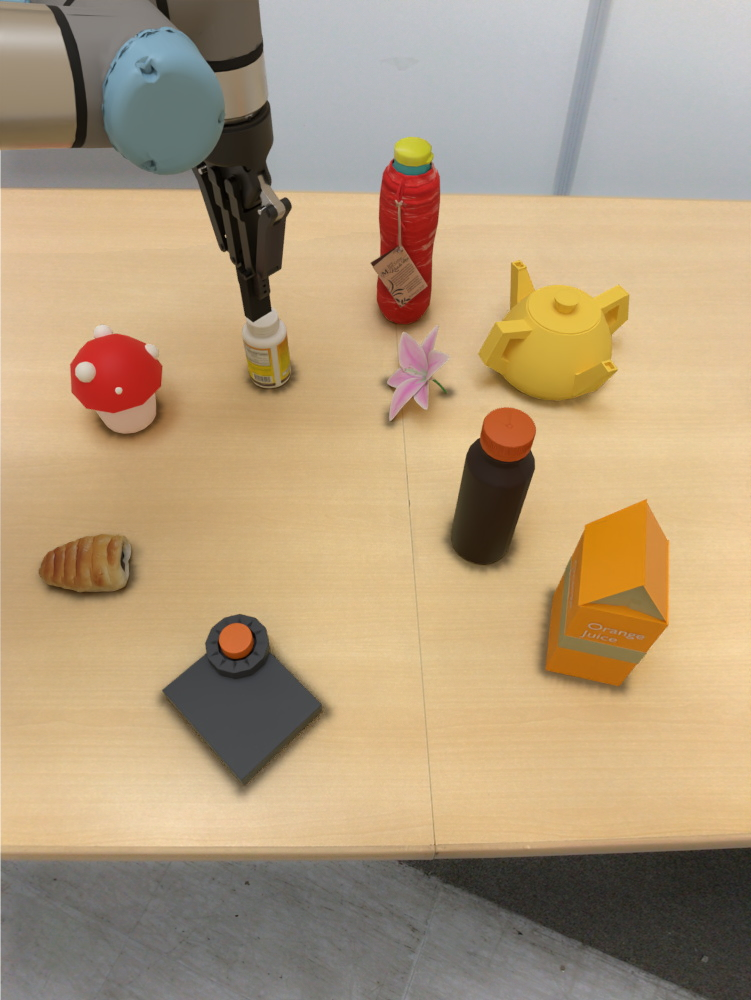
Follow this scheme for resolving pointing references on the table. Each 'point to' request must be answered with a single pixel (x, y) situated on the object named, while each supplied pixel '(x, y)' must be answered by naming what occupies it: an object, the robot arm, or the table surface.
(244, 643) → the button
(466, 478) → the vinegar
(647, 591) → the orange juice
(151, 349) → the mushroom
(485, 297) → the table surface
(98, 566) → the pastry
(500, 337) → the teapot
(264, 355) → the supplement bottle
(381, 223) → the water bottle
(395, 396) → the lily
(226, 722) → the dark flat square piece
